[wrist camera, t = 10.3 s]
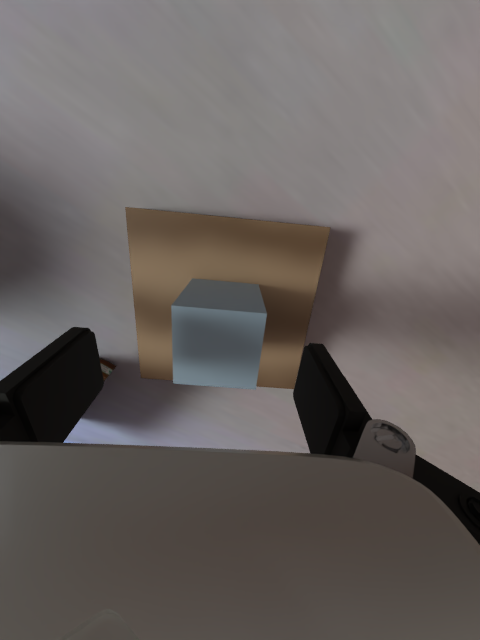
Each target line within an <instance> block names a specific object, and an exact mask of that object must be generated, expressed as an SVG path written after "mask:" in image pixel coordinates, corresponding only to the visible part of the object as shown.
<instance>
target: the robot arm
mask: <svg viewBox="0 0 480 640" xmlns="http://www.w3.org/2000/svg"><path fill="white" fill-rule="evenodd" d="M103 384H104V379H103V374H102V369H101V364H100V359H99V354H98V349H97V344H96V338H95V334H94V332H91V330H90V329H89V328H80V327H72V328H71V329H69V330H68V331H67V332H65V333H64V334H63V335H61V336H60V337H59V338H57V339H56V340H55V341H53V342H52V343H51V344H49V345H48V346H47V347H45V348H44V349H43V350H41V351H40V352H39V353H37V354H36V355H35V356H33V357H32V358H31V359H29V360H28V361H27V362H25V363H24V364H22V365H21V366H20V367H18V368H17V369H16V370H14V371H13V372H12V373H10V374H9V375H8V376H6V377H5V378H4V379H2V380H1V381H0V640H480V493H479V492H478V491H476V490H474V489H473V488H471V487H469V486H468V485H466V484H464V483H463V482H461V481H459V480H458V479H456V478H454V477H453V476H451V475H449V474H448V473H446V472H444V471H443V470H441V469H439V468H438V467H436V466H434V465H433V464H431V463H429V462H428V461H426V460H424V459H422V458H421V457H419V456H417V455H416V448H415V444H414V442H413V440H412V439H411V438H410V437H409V435H408V434H407V433H406V432H404V431H403V430H402V429H401V428H399V427H398V426H396V425H394V424H393V423H390V422H388V421H385V420H380V419H373V420H372V418H371V417H370V415H369V414H368V412H367V411H366V409H365V408H364V406H363V404H362V403H361V401H360V400H359V398H358V397H357V395H356V394H355V392H354V391H353V389H352V387H351V386H350V384H349V383H348V381H347V380H346V378H345V377H344V376H343V374H342V373H341V371H340V370H339V368H338V366H337V365H336V363H335V362H334V360H333V359H332V357H331V356H330V354H329V353H328V351H327V349H326V348H325V346H324V345H323V344H314V343H310V344H309V345H308V346H305V347H304V351H303V355H302V359H301V363H300V367H299V371H298V375H297V379H296V383H295V387H294V392H293V397H294V401H295V405H296V408H297V411H298V414H299V418H300V421H301V424H302V427H303V431H304V434H305V437H306V440H307V443H308V447H309V450H310V453H311V454H310V453H294V452H278V451H257V450H235V449H213V448H190V447H165V446H140V445H113V444H84V443H63V442H64V440H65V439H66V438H67V436H68V435H69V433H70V432H71V431H72V429H73V428H74V427H75V425H76V424H77V422H78V421H79V420H80V418H81V417H82V416H83V414H84V413H85V411H86V410H87V409H88V407H89V406H90V404H91V403H92V402H93V400H94V399H95V398H96V396H97V395H98V393H99V392H100V391H101V389H102V388H103Z"/></svg>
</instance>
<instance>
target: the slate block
mask: <svg viewBox="0 0 480 640" xmlns="http://www.w3.org/2000/svg"><path fill="white" fill-rule="evenodd" d="M171 311H172V355H173V384H186V385H200V386H214V387H228V388H242V389H255V390H256V384H257V378H258V371H259V364H260V358H261V351H262V344H263V337H264V331H265V324H266V317H267V312H266V308H265V305H264V302H263V298H262V295H261V291H260V288H259V284H249V283H238V282H227V281H216V280H205V279H194V278H192V279H191V281H190V282H189V283H188V285H187V286H186V287H185V289H184V290H183V291H182V292H181V294H180V295H179V296H178V298H177V299H176V300H175V301H174V303H173V304H172V305H171Z"/></svg>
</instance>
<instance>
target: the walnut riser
mask: <svg viewBox="0 0 480 640" xmlns="http://www.w3.org/2000/svg"><path fill="white" fill-rule="evenodd" d="M125 209H126V220H127V231H128V242H129V253H130V264H131V275H132V286H133V297H134V308H135V319H136V330H137V340H138V351H139V362H140V373H141V378H147V379H161V380H173V355H172V311H171V305H172V304H173V303H174V301H175V300H176V299H177V298H178V296H179V295H180V294H181V292H182V291H183V290H184V289H185V287H186V286H187V285H188V283H189V282H190V281H191V279H192V278H194V279H205V280H216V281H227V282H238V283H249V284H259V288H260V291H261V295H262V298H263V302H264V305H265V308H266V312H267V317H266V324H265V331H264V337H263V344H262V351H261V358H260V364H259V371H258V378H257V384H256V386H259V387H273V388H286V389H294V386H295V382H296V378H297V373H298V369H299V364H300V360H301V356H302V351H303V347H304V342H305V338H306V333H307V329H308V325H309V320H310V316H311V311H312V307H313V302H314V298H315V294H316V289H317V285H318V280H319V276H320V272H321V267H322V263H323V258H324V254H325V249H326V245H327V241H328V236H329V232H330V227H321V226H311V225H301V224H291V223H281V222H271V221H261V220H251V219H241V218H230V217H220V216H210V215H200V214H190V213H180V212H170V211H160V210H150V209H140V208H129V207H125Z"/></svg>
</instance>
